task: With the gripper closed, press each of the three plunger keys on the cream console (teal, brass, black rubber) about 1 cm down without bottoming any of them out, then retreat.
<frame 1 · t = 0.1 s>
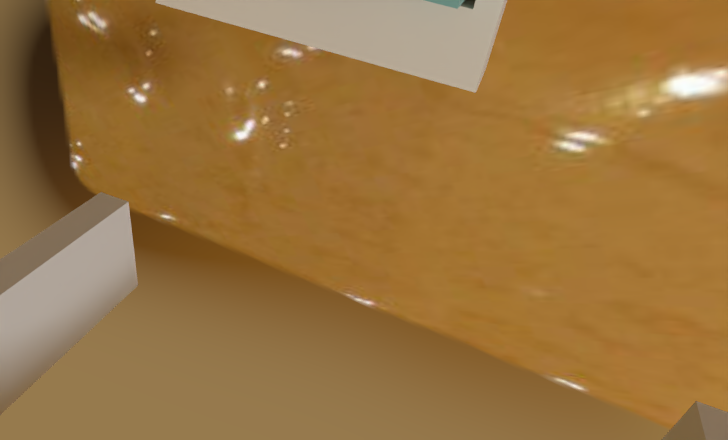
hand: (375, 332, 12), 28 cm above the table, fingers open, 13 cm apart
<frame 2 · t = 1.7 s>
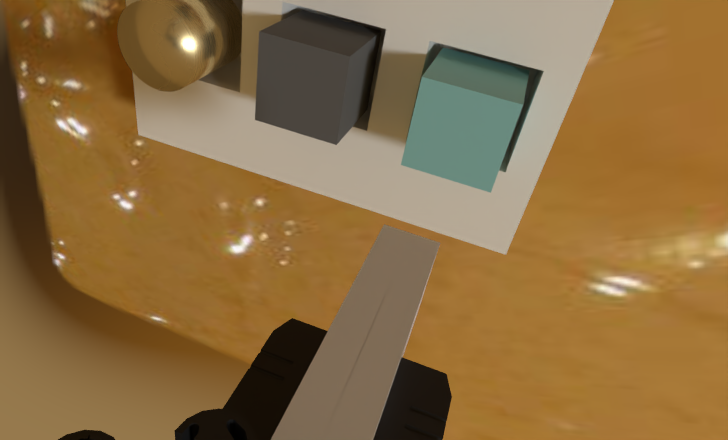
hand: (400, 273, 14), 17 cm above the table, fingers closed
console: (359, 43, 29), on the table
brass key: (185, 36, 25), point 6 cm above the table, slide at 0.0 cm
rubber key: (319, 74, 24), point 6 cm above the table, slide at 0.0 cm
teal key: (466, 117, 23), point 6 cm above the table, slide at 0.0 cm
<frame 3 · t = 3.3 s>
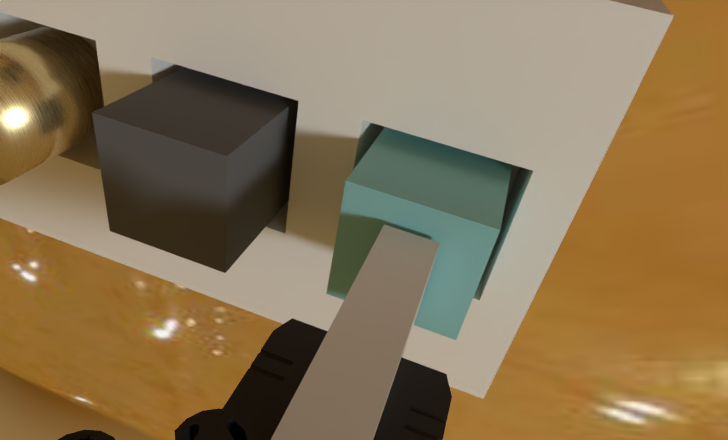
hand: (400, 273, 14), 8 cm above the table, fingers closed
console: (286, 100, 21), on the table
brass key: (21, 102, 18), point 6 cm above the table, slide at 0.0 cm
rubber key: (206, 163, 16), point 6 cm above the table, slide at 0.0 cm
teal key: (422, 221, 16), point 5 cm above the table, slide at 0.6 cm, touching gripper
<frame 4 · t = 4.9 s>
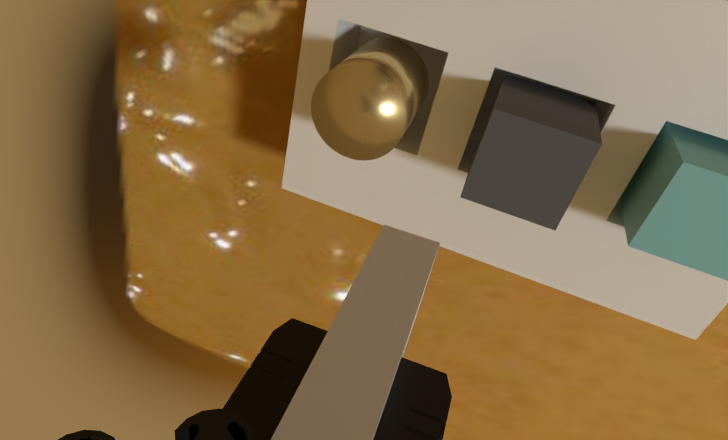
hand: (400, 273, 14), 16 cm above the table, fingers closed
console: (535, 101, 27), on the table
brass key: (373, 96, 23), point 6 cm above the table, slide at 0.0 cm
rubber key: (529, 148, 22), point 6 cm above the table, slide at 0.0 cm
teal key: (695, 196, 21), point 5 cm above the table, slide at 0.8 cm
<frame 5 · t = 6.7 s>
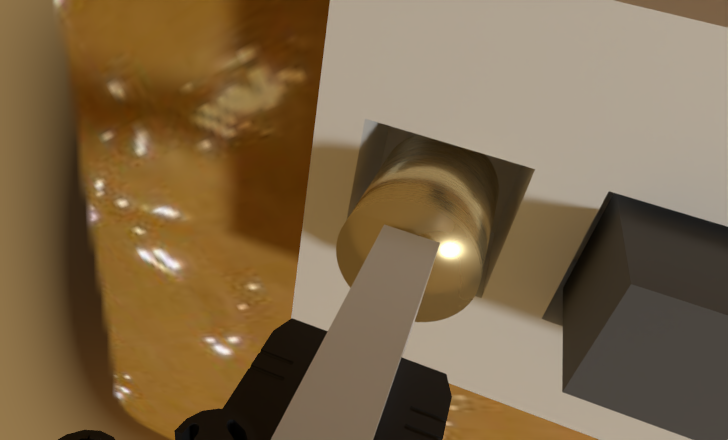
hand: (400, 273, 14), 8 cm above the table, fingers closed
console: (638, 203, 19), on the table
brass key: (423, 222, 16), point 5 cm above the table, slide at 0.5 cm, touching gripper
rubber key: (663, 310, 14), point 6 cm above the table, slide at 0.0 cm
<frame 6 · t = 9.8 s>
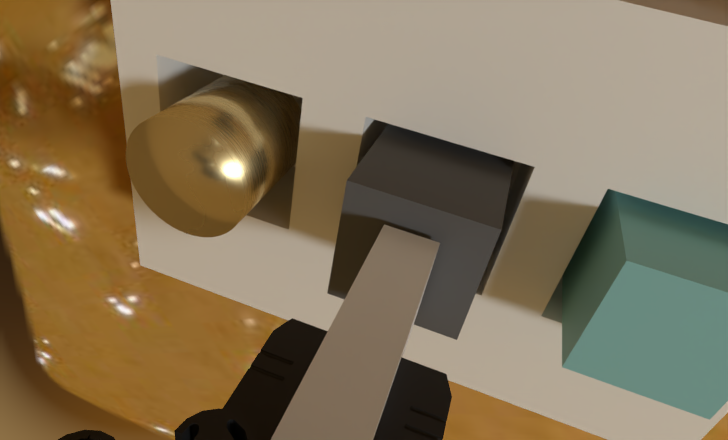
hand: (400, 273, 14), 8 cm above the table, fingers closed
console: (454, 146, 20), on the table
brass key: (223, 149, 17), point 5 cm above the table, slide at 0.8 cm
rubber key: (423, 221, 16), point 6 cm above the table, slide at 0.4 cm, touching gripper
teal key: (658, 289, 15), point 5 cm above the table, slide at 0.8 cm
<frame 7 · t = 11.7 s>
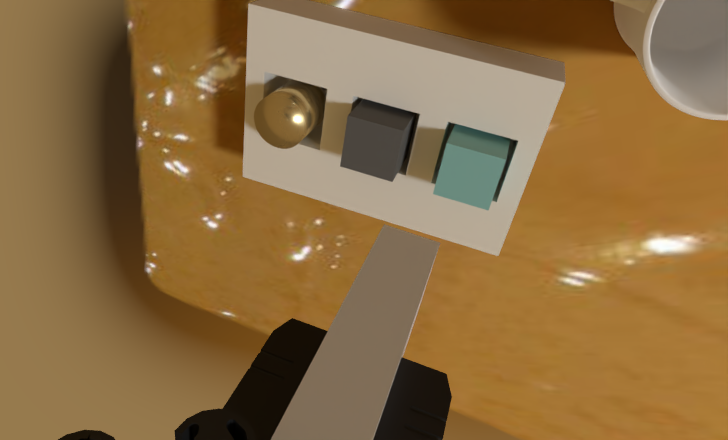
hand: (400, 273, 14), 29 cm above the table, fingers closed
console: (396, 114, 42), on the table
brass key: (291, 112, 39), point 5 cm above the table, slide at 0.8 cm
rubber key: (379, 137, 38), point 5 cm above the table, slide at 0.8 cm
teal key: (472, 163, 37), point 5 cm above the table, slide at 0.8 cm
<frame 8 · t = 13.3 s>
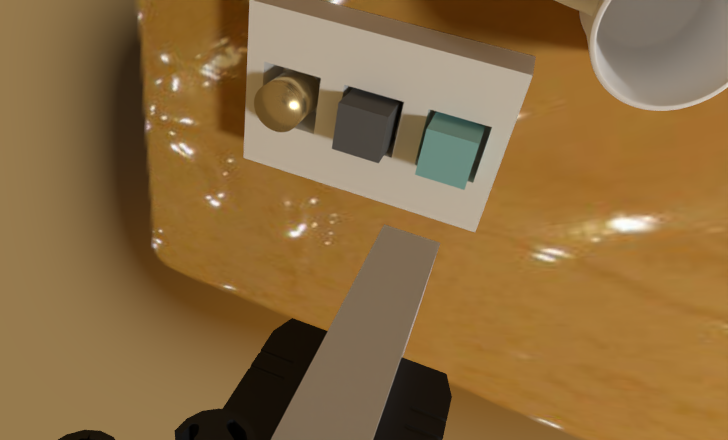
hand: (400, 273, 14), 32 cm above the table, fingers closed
console: (385, 101, 46), on the table
brass key: (288, 99, 43), point 5 cm above the table, slide at 0.8 cm
rubber key: (367, 123, 42), point 5 cm above the table, slide at 0.8 cm
teal key: (451, 147, 41), point 5 cm above the table, slide at 0.8 cm
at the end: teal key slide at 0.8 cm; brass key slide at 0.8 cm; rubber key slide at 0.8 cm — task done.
